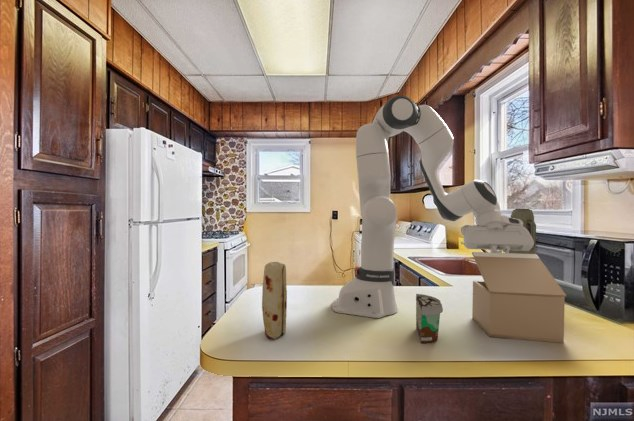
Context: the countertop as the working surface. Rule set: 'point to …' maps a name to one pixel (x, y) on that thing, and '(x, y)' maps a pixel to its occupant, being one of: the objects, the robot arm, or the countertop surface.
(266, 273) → the food model
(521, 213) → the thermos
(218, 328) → the countertop surface
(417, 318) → the food container
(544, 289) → the flap
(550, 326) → the carton
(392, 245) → the robot arm
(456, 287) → the countertop surface
